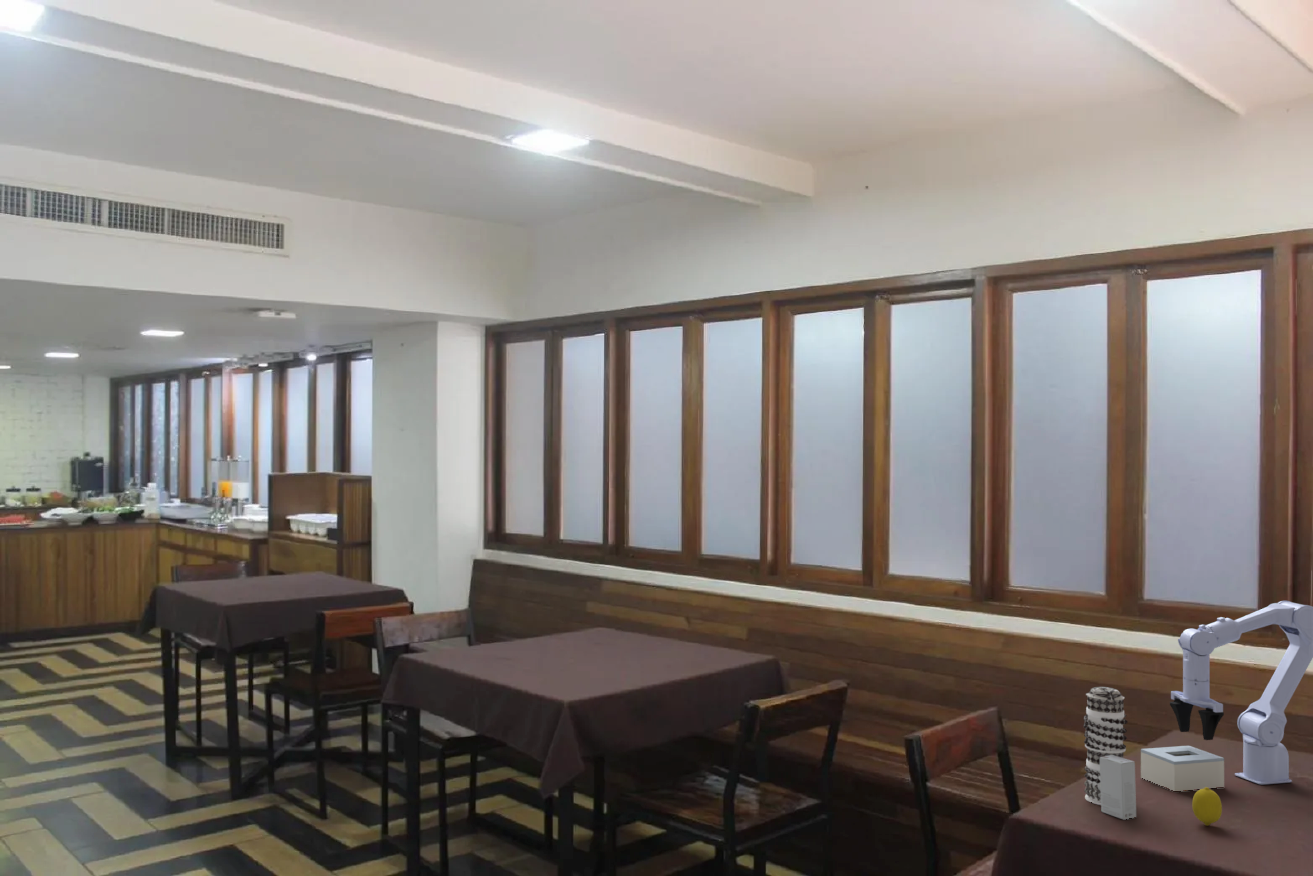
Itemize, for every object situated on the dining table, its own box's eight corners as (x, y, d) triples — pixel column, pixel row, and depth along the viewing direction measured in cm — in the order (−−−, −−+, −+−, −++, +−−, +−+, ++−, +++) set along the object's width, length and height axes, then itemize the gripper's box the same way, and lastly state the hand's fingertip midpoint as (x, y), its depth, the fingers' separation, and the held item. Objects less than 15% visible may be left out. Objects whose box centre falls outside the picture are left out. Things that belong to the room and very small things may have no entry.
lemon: (1225, 831, 215) (1225, 792, 215) (1196, 829, 216) (1196, 790, 216) (1216, 822, 220) (1216, 784, 220) (1188, 820, 221) (1188, 782, 222)
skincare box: (1137, 818, 222) (1137, 761, 223) (1122, 821, 220) (1122, 763, 221) (1113, 809, 228) (1113, 753, 228) (1098, 812, 226) (1099, 756, 226)
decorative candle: (1133, 800, 234) (1133, 689, 235) (1119, 810, 227) (1119, 695, 228) (1092, 791, 240) (1092, 683, 241) (1077, 800, 234) (1077, 689, 234)
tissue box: (1188, 774, 255) (1188, 745, 255) (1224, 788, 244) (1224, 758, 244) (1140, 778, 251) (1140, 749, 251) (1174, 792, 241) (1174, 761, 241)
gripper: (1160, 674, 258) (1160, 728, 257) (1205, 686, 244) (1205, 744, 243) (1184, 672, 260) (1184, 727, 259) (1230, 685, 246) (1230, 742, 245)
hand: (1196, 735), depth 251 cm, fingers open, 7 cm apart
